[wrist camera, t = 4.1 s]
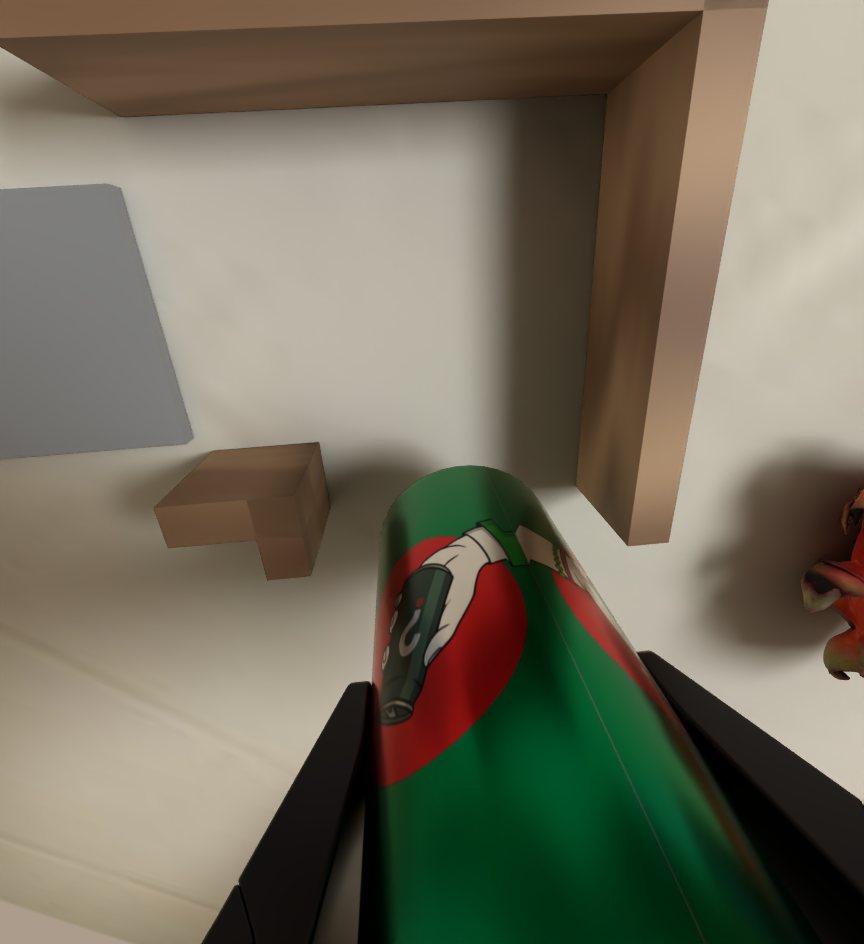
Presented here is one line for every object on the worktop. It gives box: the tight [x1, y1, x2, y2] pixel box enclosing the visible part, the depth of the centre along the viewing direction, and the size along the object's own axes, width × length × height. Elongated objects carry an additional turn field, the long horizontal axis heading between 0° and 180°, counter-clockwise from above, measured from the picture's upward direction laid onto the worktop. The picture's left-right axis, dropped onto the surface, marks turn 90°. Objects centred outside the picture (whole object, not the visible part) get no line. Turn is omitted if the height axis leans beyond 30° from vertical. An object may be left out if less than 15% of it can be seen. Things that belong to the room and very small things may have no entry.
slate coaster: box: [0, 184, 194, 459], centre depth 13 cm, size 7×7×1 cm
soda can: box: [357, 465, 823, 944], centre depth 8 cm, size 5×5×12 cm
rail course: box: [0, 0, 769, 580], centre depth 12 cm, size 13×14×4 cm
